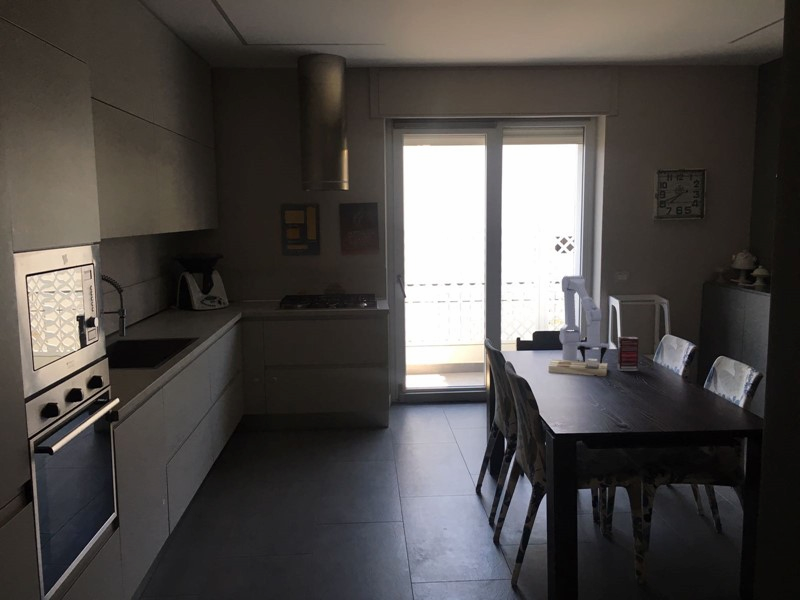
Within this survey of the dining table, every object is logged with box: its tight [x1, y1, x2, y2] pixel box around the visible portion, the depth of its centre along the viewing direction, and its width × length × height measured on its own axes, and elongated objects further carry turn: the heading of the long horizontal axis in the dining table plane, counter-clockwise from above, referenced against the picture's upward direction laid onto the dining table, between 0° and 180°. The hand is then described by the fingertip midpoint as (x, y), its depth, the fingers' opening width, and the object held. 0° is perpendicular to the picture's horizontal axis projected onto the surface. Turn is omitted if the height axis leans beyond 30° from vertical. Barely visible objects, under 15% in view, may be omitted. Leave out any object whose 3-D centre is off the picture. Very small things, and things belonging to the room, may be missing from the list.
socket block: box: [548, 358, 609, 377], centre depth 306 cm, size 14×26×3 cm, turn 69°
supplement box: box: [617, 336, 639, 372], centre depth 306 cm, size 9×5×16 cm, turn 84°
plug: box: [587, 358, 598, 367], centre depth 304 cm, size 4×4×6 cm
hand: (592, 362), depth 304 cm, fingers open, 7 cm apart
